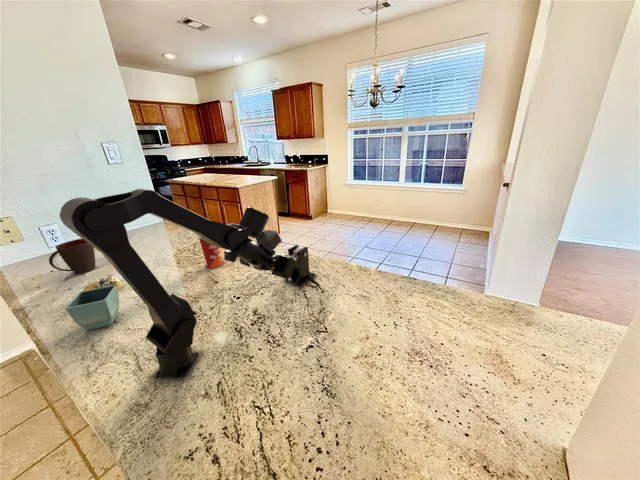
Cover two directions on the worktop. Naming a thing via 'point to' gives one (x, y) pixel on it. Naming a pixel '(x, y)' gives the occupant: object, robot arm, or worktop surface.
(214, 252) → the paper cup
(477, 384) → the worktop surface
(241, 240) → the robot arm
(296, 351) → the worktop surface
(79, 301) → the flower pot
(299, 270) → the tap bracket
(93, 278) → the cake
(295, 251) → the tap lever
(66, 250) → the mug
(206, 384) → the worktop surface
